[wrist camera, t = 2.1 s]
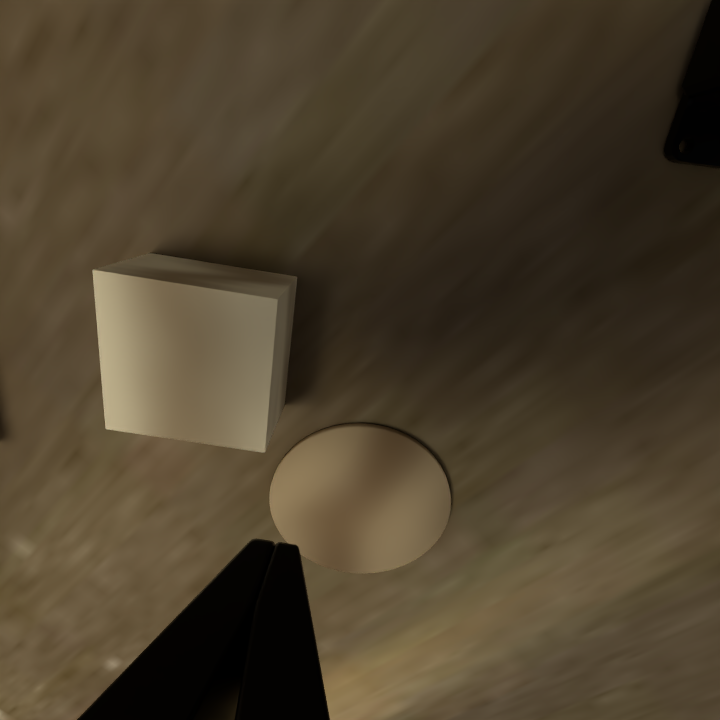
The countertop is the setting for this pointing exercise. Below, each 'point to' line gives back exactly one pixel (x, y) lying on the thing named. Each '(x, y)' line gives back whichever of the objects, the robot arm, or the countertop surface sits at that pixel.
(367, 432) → the cork coaster
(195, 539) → the countertop surface
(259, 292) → the maple block
